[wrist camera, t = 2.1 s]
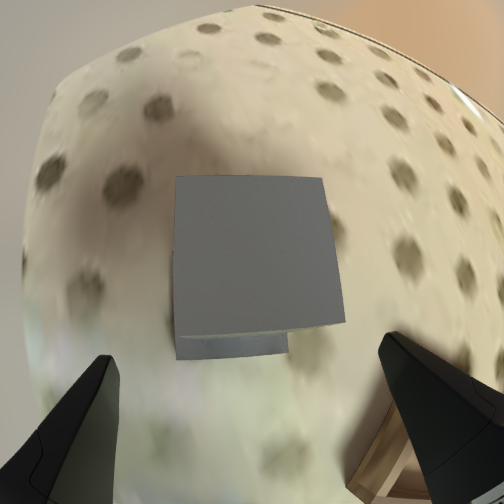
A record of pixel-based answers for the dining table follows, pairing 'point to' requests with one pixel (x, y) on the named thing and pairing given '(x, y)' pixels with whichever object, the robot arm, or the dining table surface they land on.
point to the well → (390, 468)
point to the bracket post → (251, 264)
